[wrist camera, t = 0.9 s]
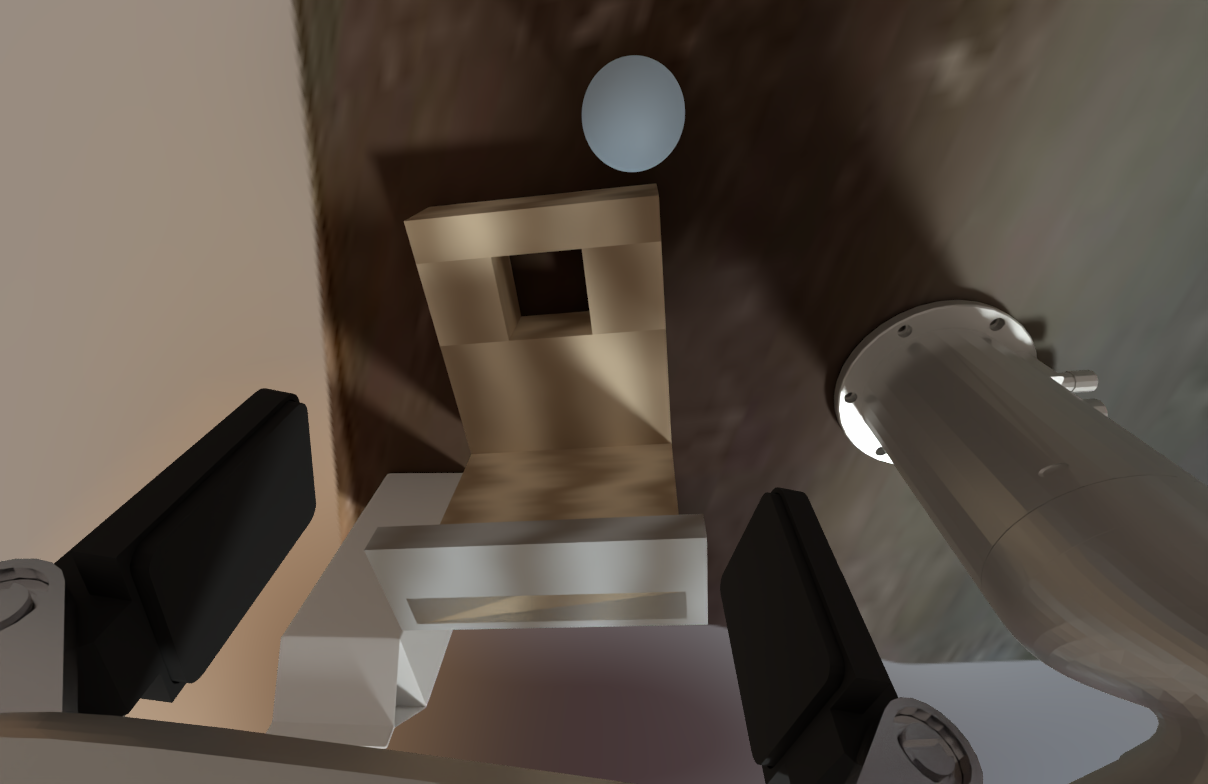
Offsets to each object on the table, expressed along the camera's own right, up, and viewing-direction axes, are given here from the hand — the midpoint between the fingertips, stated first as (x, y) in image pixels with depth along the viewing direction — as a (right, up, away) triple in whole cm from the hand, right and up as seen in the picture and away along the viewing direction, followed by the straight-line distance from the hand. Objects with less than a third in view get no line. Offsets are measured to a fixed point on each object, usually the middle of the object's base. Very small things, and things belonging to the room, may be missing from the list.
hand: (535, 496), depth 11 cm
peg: (+3, +18, +18) cm, 26 cm away
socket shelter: (-1, +6, +25) cm, 26 cm away
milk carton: (-13, -7, +34) cm, 37 cm away
